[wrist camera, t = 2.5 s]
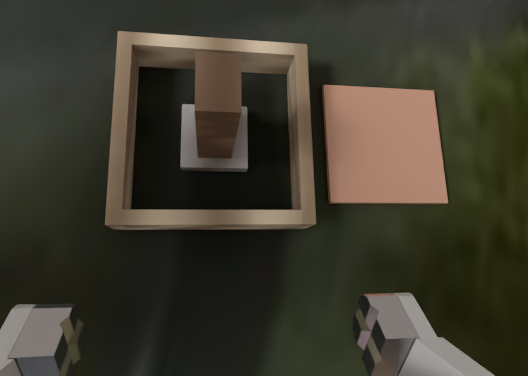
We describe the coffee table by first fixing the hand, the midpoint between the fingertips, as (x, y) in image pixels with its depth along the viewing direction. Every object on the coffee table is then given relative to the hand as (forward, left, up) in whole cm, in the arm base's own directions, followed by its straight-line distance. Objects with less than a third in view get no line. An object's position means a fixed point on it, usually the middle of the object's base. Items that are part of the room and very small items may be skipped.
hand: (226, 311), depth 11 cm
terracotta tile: (+14, +11, -17) cm, 25 cm away
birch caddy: (0, +11, -17) cm, 20 cm away
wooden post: (0, +11, -17) cm, 20 cm away
